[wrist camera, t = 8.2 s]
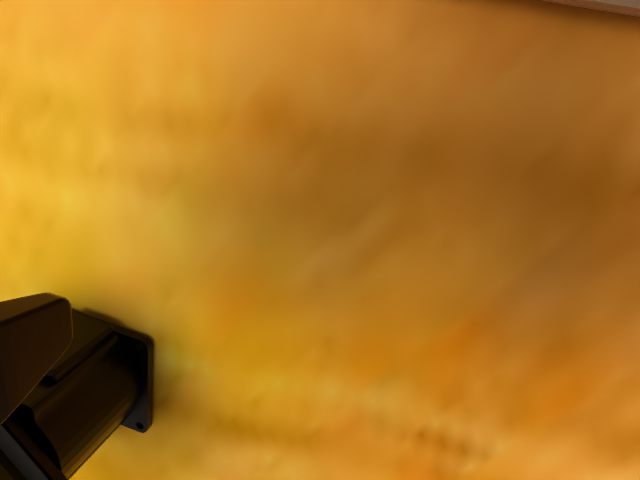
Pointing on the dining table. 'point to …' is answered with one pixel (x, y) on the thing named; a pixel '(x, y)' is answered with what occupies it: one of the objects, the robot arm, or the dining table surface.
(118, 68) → the dining table surface
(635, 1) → the base
